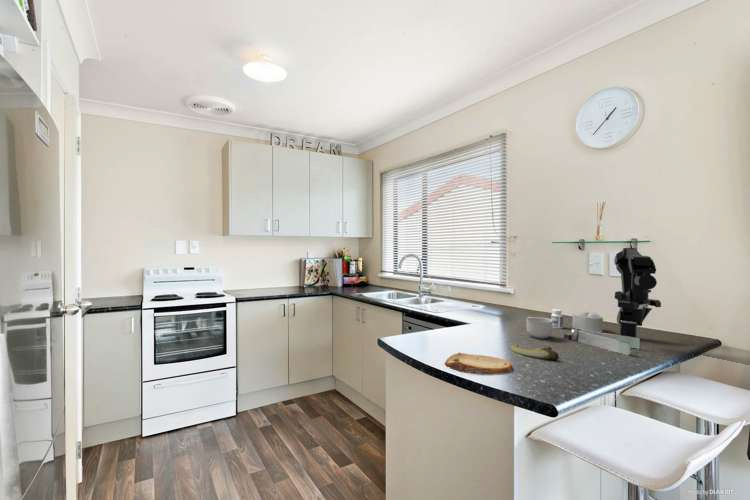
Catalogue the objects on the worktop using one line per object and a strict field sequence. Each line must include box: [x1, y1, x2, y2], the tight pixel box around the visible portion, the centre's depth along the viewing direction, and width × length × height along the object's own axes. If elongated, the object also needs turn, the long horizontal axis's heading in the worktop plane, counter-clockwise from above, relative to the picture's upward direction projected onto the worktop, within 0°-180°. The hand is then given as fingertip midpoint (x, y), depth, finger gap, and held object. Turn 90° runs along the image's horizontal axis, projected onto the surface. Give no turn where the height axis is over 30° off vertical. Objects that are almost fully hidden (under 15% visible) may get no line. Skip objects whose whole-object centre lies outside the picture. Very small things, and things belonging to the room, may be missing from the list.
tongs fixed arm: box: [563, 328, 631, 356], centre depth 145 cm, size 26×4×4 cm, turn 22°
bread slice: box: [444, 352, 514, 375], centre depth 117 cm, size 18×18×4 cm
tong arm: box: [581, 330, 641, 350], centre depth 148 cm, size 20×1×4 cm, turn 52°
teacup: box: [525, 316, 553, 339], centre depth 160 cm, size 14×11×8 cm
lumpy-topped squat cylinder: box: [572, 310, 604, 332], centre depth 174 cm, size 10×13×9 cm
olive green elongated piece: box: [510, 343, 560, 361], centre depth 133 cm, size 20×10×3 cm, turn 37°
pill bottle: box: [550, 308, 564, 329], centre depth 178 cm, size 5×5×9 cm
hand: (638, 324), depth 145 cm, fingers closed
